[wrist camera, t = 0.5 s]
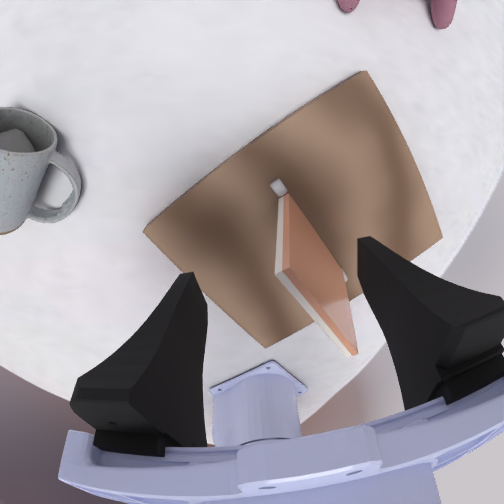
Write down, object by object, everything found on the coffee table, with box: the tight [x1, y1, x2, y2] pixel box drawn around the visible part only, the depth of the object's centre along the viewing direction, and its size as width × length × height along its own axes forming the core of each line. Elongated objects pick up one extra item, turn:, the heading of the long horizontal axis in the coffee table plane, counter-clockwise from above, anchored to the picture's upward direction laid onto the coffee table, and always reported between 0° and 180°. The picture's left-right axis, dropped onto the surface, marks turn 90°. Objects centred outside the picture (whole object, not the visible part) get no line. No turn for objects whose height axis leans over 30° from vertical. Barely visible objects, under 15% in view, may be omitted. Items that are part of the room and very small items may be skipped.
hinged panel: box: [270, 178, 358, 358], centre depth 18 cm, size 9×10×1 cm
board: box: [143, 71, 443, 348], centre depth 22 cm, size 20×16×1 cm
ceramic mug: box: [0, 107, 81, 235], centre depth 16 cm, size 11×8×8 cm
